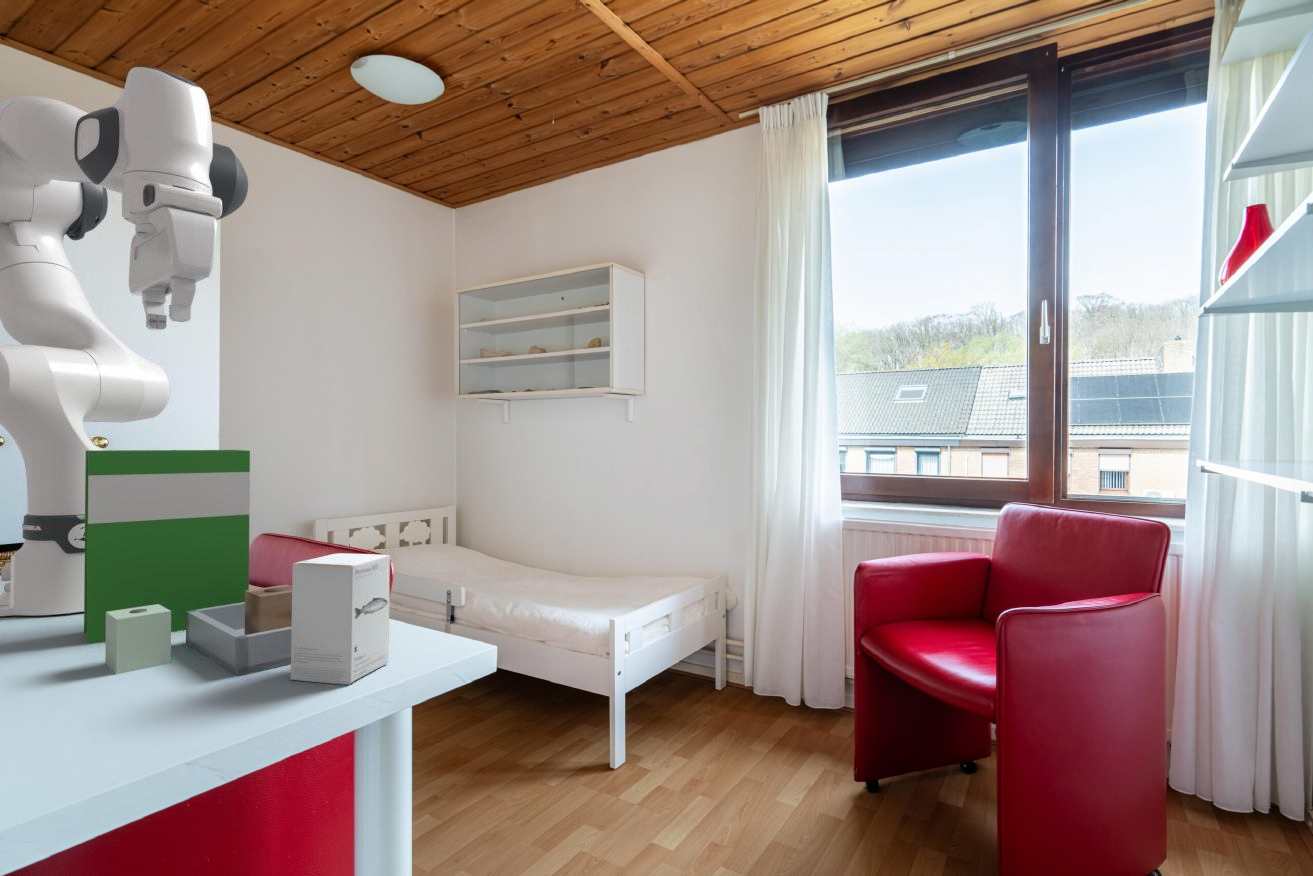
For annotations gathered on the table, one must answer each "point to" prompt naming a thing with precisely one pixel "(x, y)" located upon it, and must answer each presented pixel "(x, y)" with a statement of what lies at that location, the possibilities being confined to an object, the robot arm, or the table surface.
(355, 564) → the supplement box
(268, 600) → the walnut block
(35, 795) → the table surface
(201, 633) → the tray
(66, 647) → the table surface
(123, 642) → the sage block
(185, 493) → the hardback book
